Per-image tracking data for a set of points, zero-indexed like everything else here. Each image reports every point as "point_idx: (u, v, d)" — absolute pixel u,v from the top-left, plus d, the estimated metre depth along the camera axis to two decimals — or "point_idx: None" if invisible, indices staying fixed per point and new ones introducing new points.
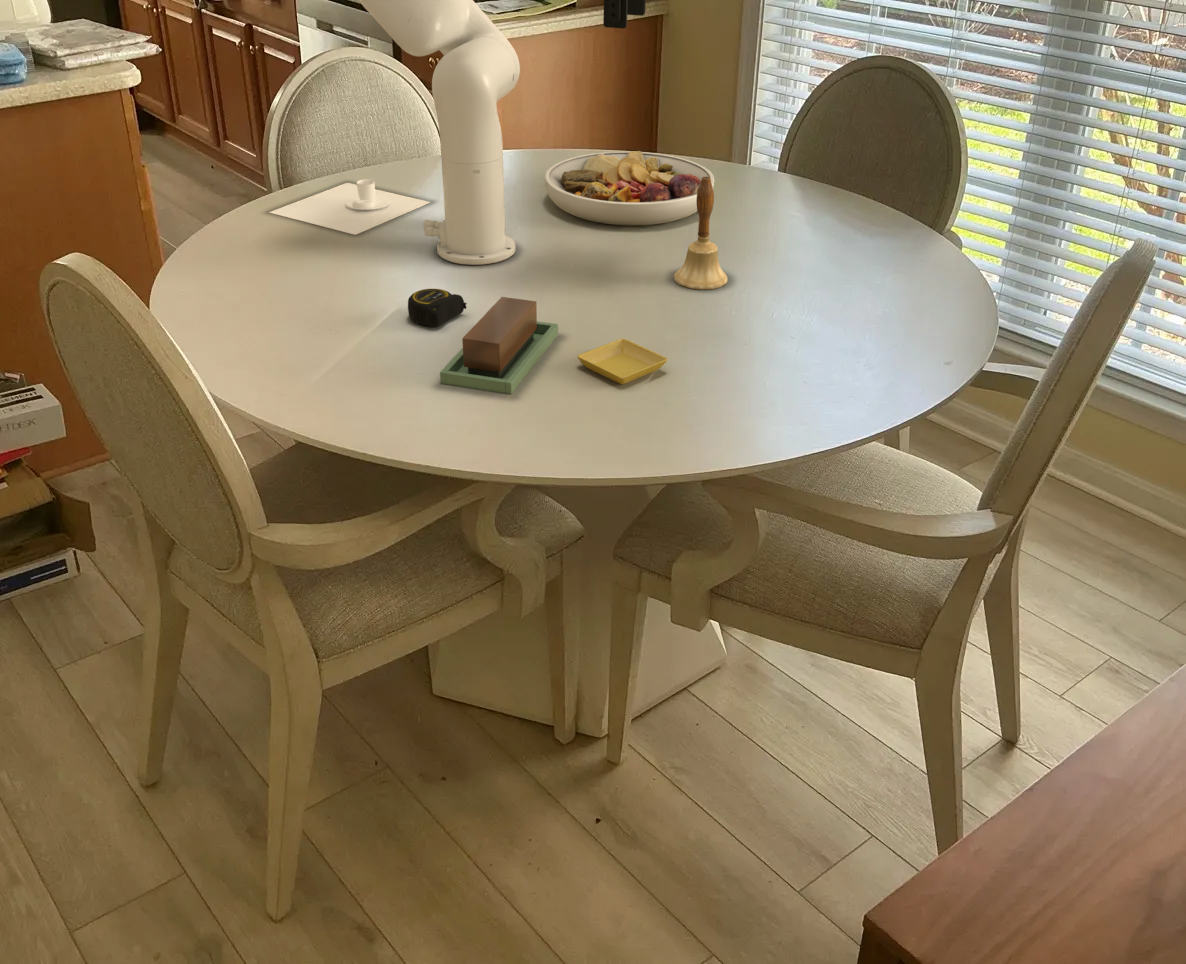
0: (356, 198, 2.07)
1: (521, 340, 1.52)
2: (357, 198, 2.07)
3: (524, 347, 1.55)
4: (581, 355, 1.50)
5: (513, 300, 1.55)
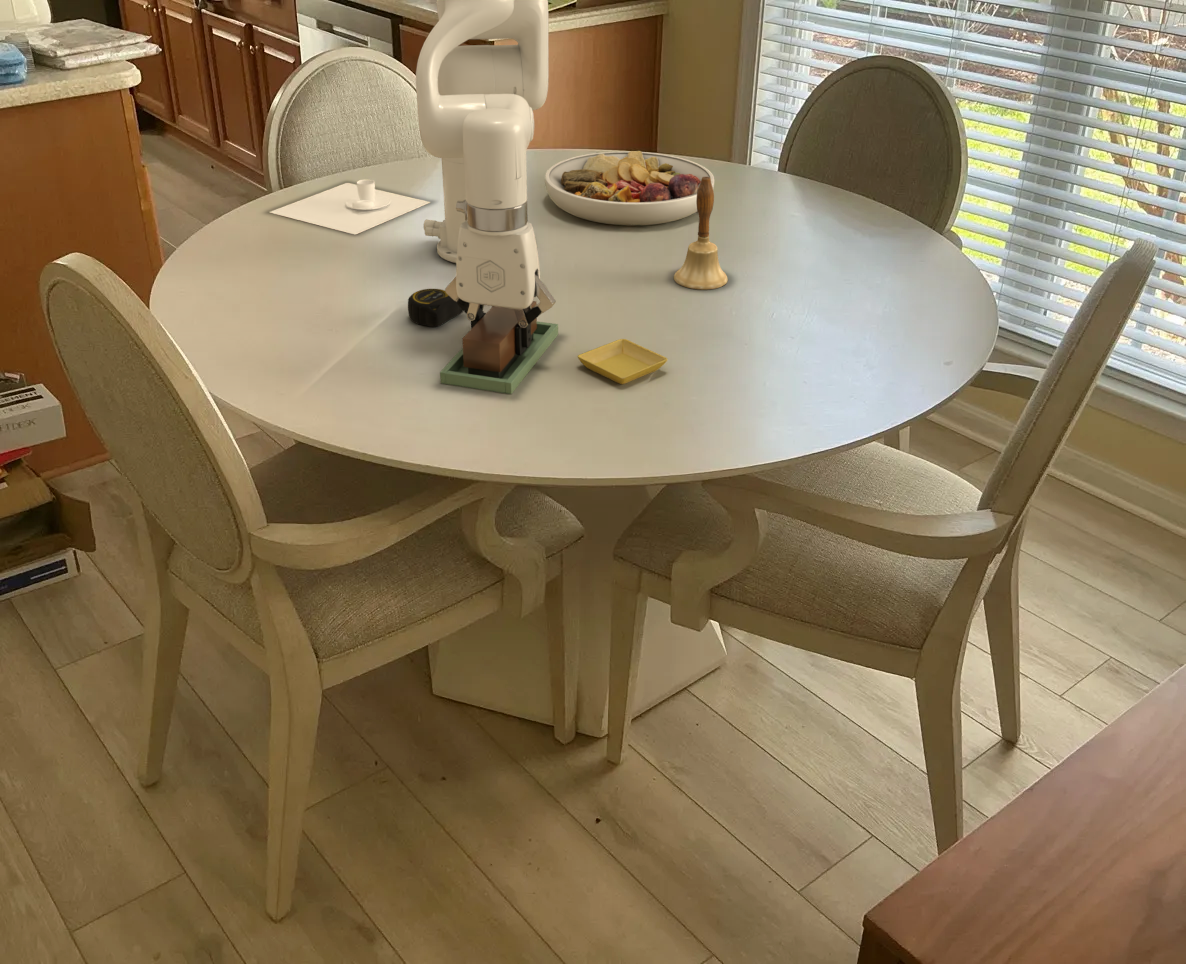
0: (356, 198, 2.07)
1: None
2: (357, 198, 2.07)
3: None
4: (581, 355, 1.50)
5: None
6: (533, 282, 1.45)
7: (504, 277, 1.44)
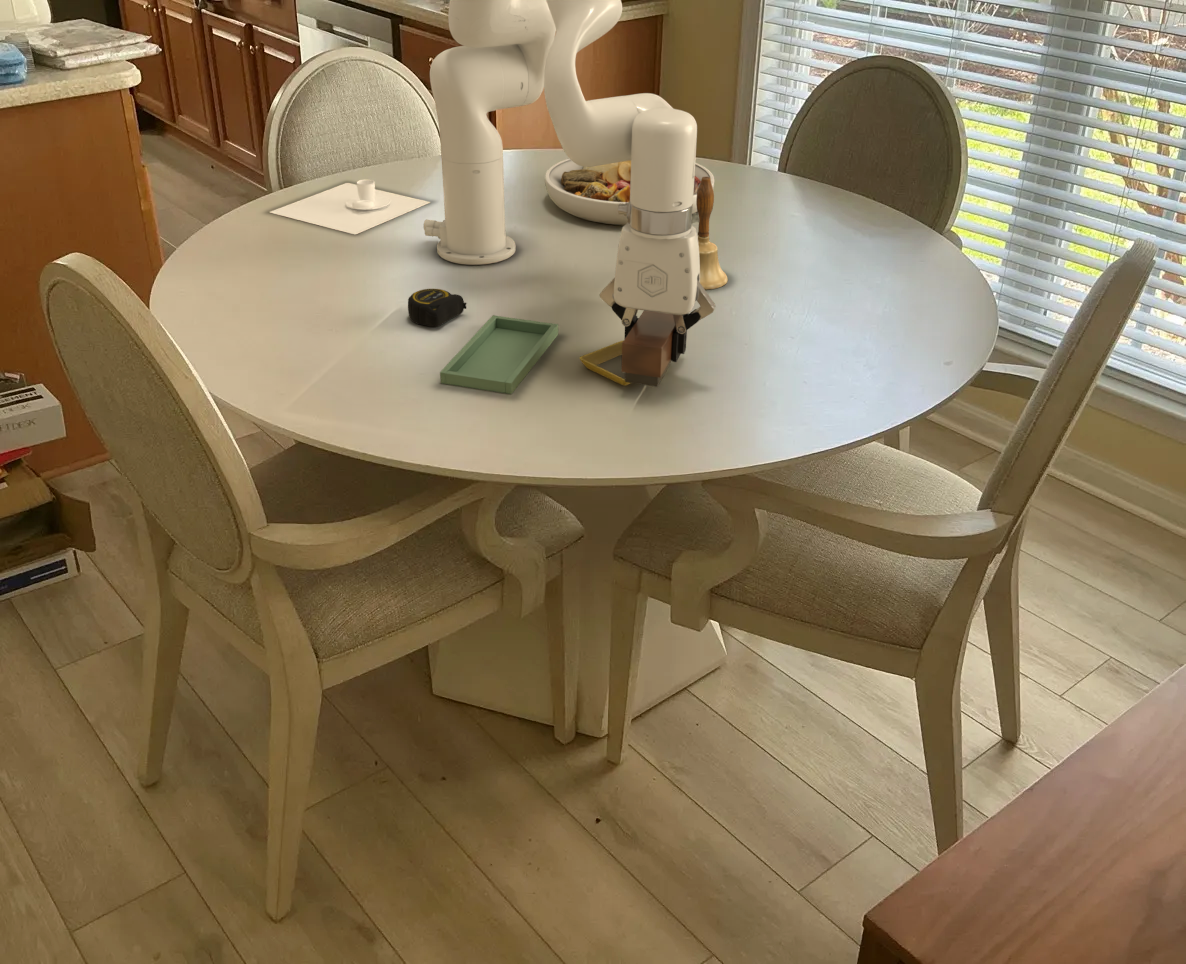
0: (356, 198, 2.07)
1: None
2: (357, 198, 2.07)
3: None
4: (583, 357, 1.50)
5: None
6: (695, 287, 1.41)
7: (667, 282, 1.40)
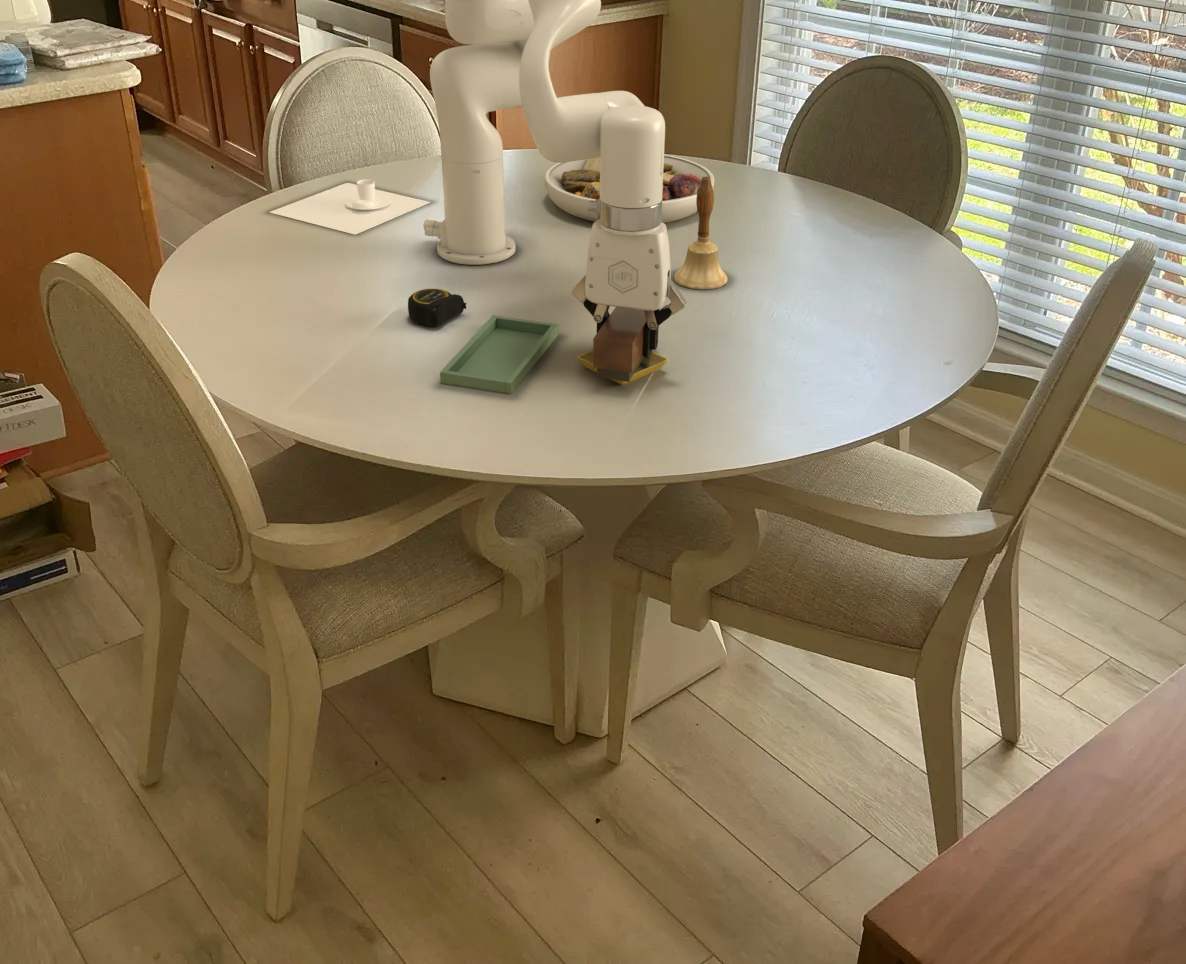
0: (356, 198, 2.07)
1: None
2: (357, 198, 2.07)
3: None
4: (581, 355, 1.51)
5: None
6: (666, 283, 1.42)
7: (637, 278, 1.41)
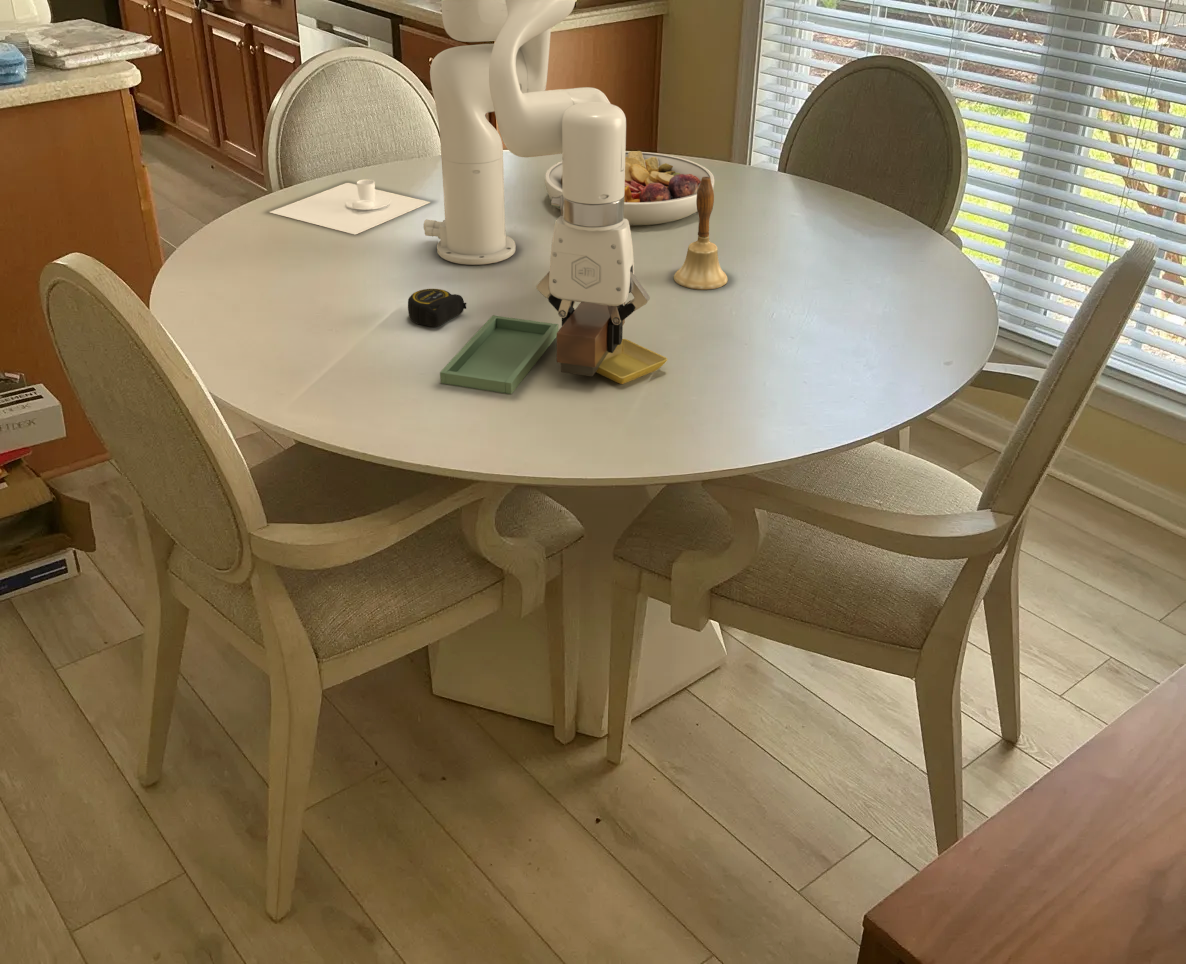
0: (356, 198, 2.07)
1: None
2: (357, 198, 2.07)
3: None
4: None
5: None
6: (629, 278, 1.43)
7: (600, 273, 1.42)
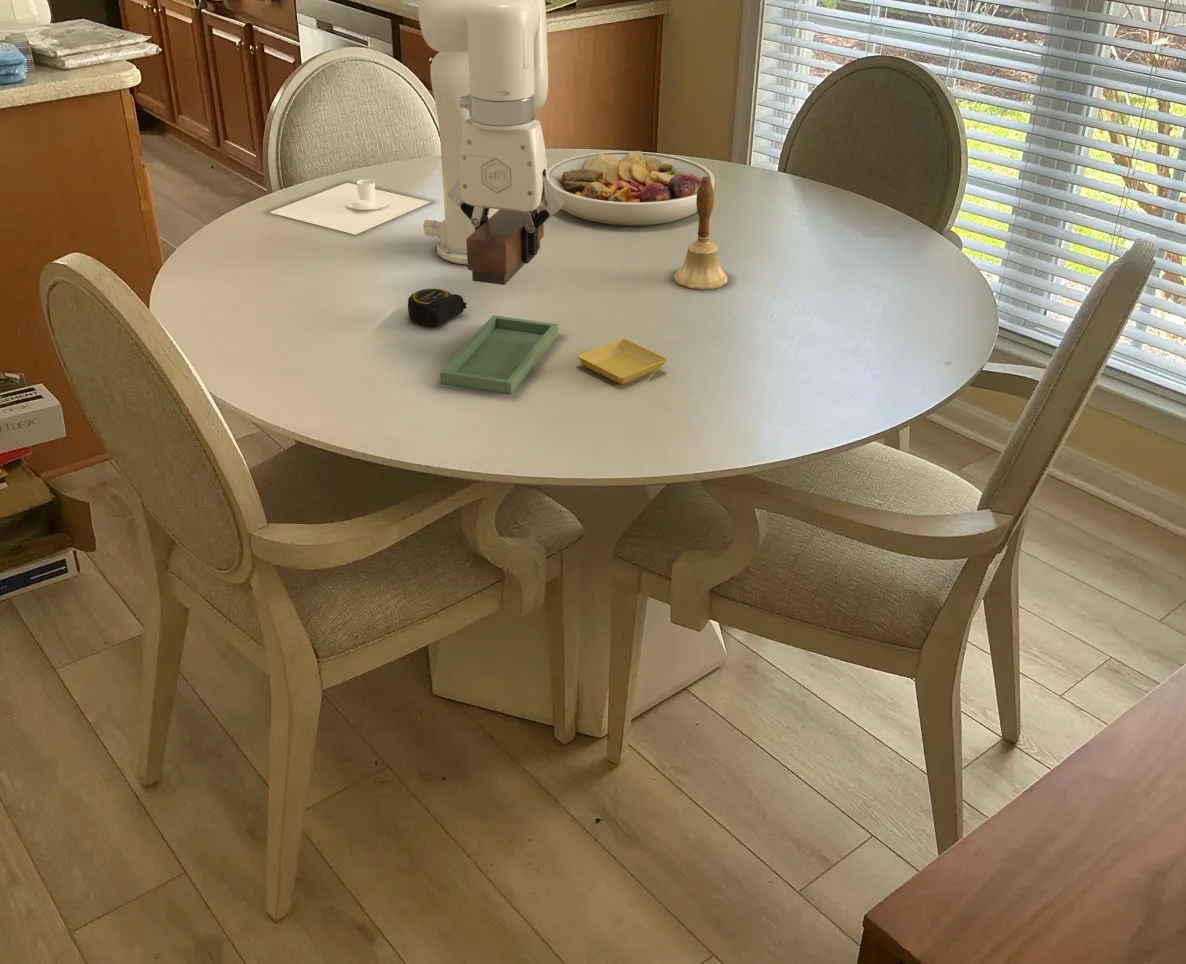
0: (356, 198, 2.07)
1: None
2: (357, 198, 2.07)
3: None
4: (581, 355, 1.51)
5: None
6: (541, 182, 1.38)
7: (510, 176, 1.37)
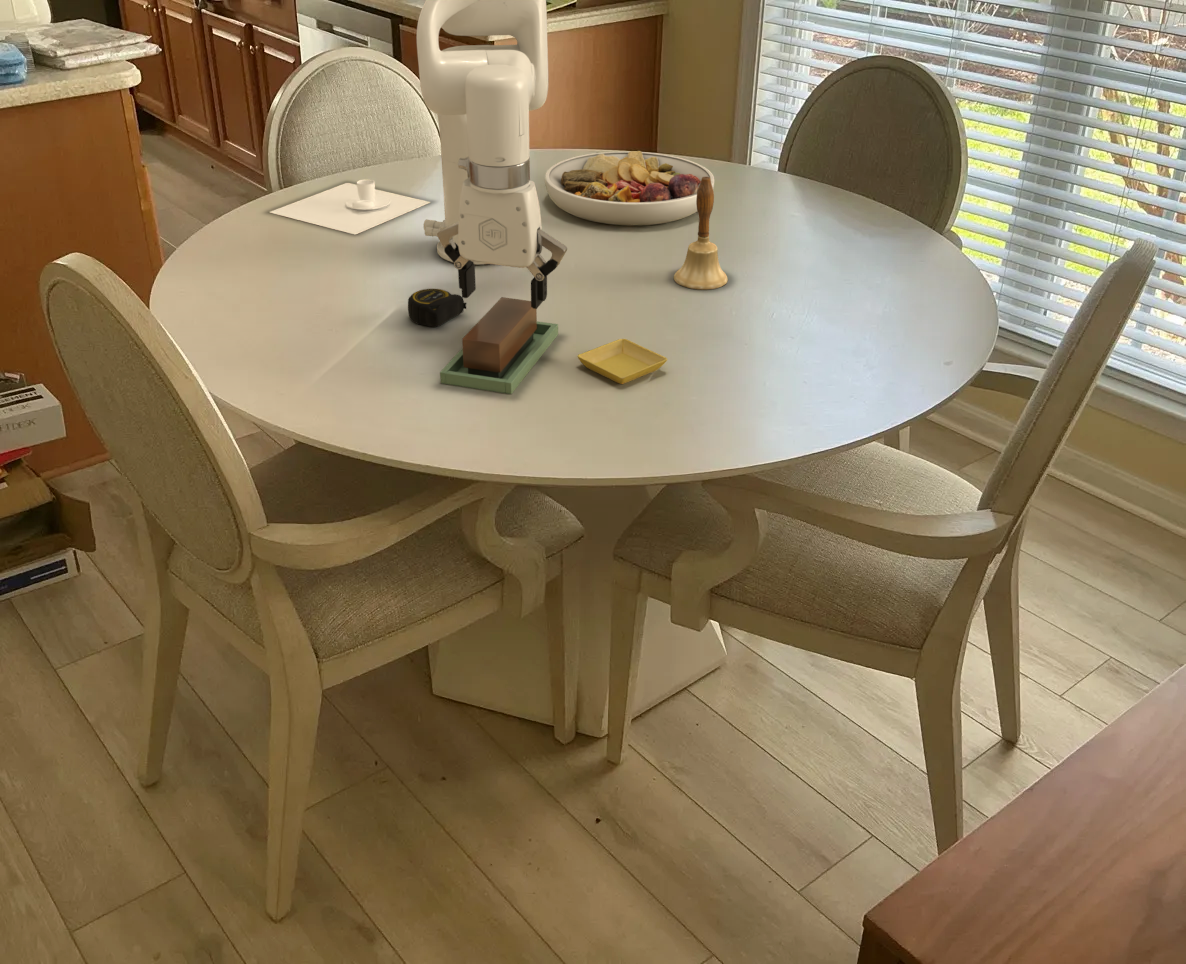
0: (356, 198, 2.07)
1: (521, 340, 1.52)
2: (357, 198, 2.07)
3: (524, 347, 1.55)
4: (581, 355, 1.51)
5: (513, 301, 1.55)
6: (535, 240, 1.45)
7: (506, 235, 1.44)
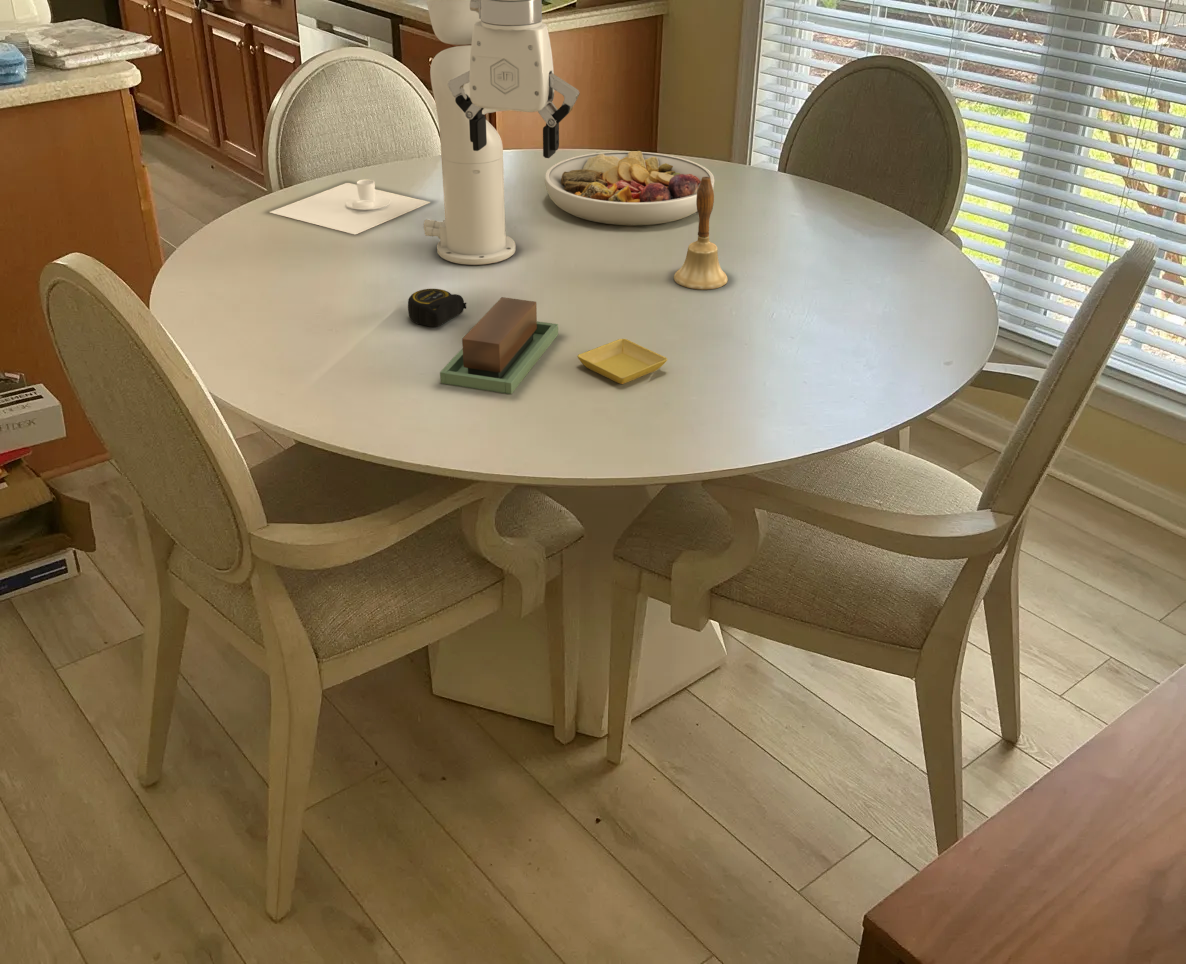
0: (356, 198, 2.07)
1: (521, 340, 1.52)
2: (357, 198, 2.07)
3: (524, 347, 1.55)
4: (581, 355, 1.51)
5: (513, 301, 1.55)
6: (547, 83, 1.44)
7: (518, 77, 1.43)
